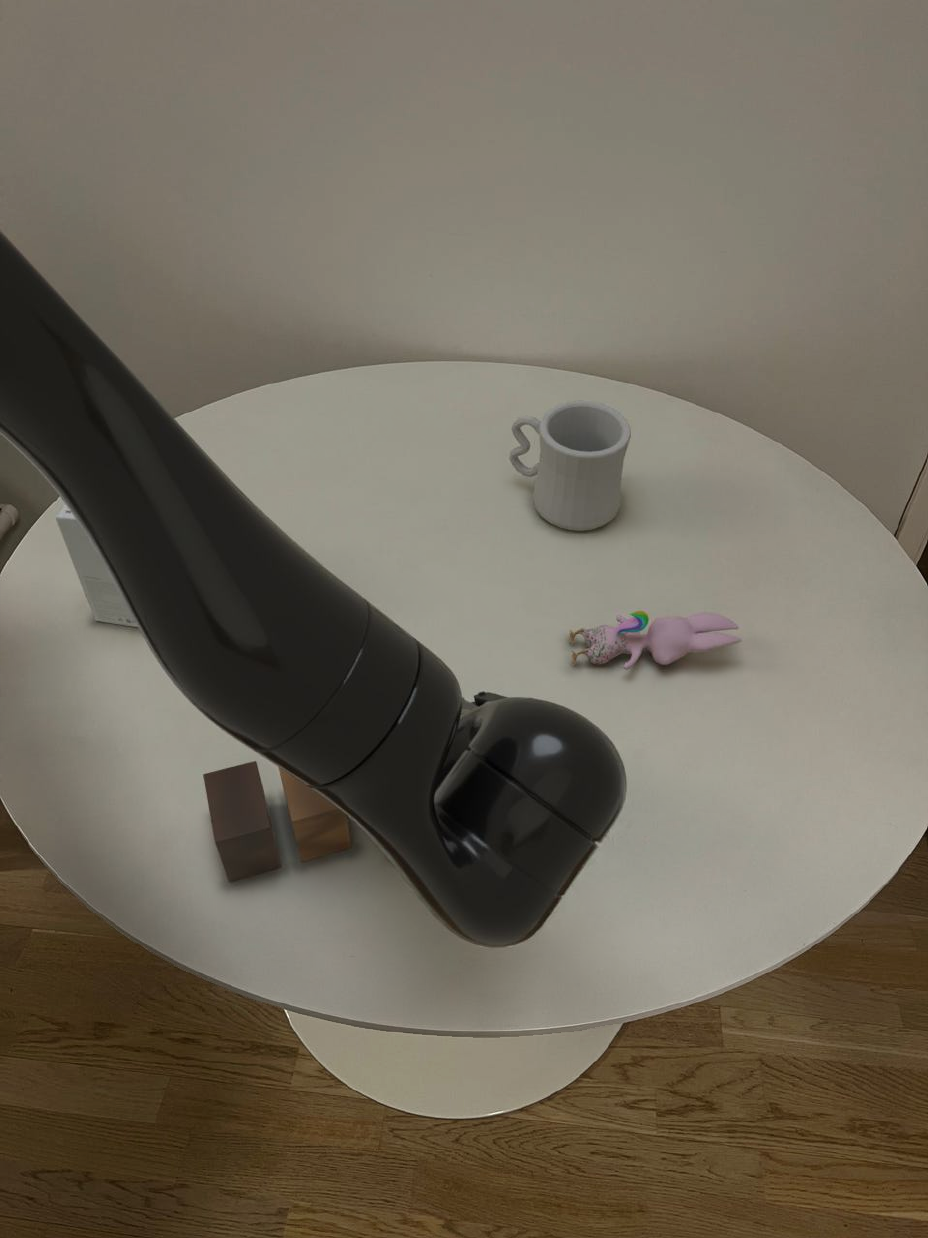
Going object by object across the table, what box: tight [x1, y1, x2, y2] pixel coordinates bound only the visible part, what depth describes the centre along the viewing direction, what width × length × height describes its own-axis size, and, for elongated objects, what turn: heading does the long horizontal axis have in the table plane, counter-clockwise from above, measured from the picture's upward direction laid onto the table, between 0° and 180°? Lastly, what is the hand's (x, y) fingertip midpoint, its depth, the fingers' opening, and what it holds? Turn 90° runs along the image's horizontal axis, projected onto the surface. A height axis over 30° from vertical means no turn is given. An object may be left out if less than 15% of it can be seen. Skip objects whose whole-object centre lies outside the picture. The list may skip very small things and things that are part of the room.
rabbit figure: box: [569, 610, 743, 670], centre depth 89 cm, size 6×6×15 cm
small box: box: [55, 503, 138, 628], centre depth 90 cm, size 8×6×13 cm
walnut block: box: [202, 760, 282, 883], centre depth 76 cm, size 4×6×6 cm, turn 18°
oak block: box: [278, 767, 352, 863], centre depth 77 cm, size 4×6×6 cm, turn 18°
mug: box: [508, 400, 632, 532], centre depth 101 cm, size 12×9×10 cm
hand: (394, 722), depth 75 cm, fingers open, 7 cm apart
